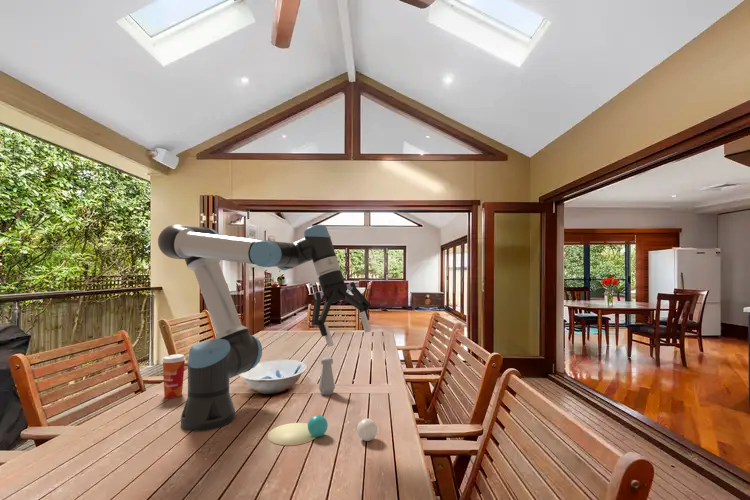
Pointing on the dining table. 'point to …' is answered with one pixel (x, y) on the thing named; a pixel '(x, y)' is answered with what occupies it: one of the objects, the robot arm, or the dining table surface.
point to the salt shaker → (326, 377)
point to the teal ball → (317, 425)
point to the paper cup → (173, 375)
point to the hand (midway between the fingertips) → (350, 338)
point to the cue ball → (367, 429)
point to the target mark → (290, 434)
